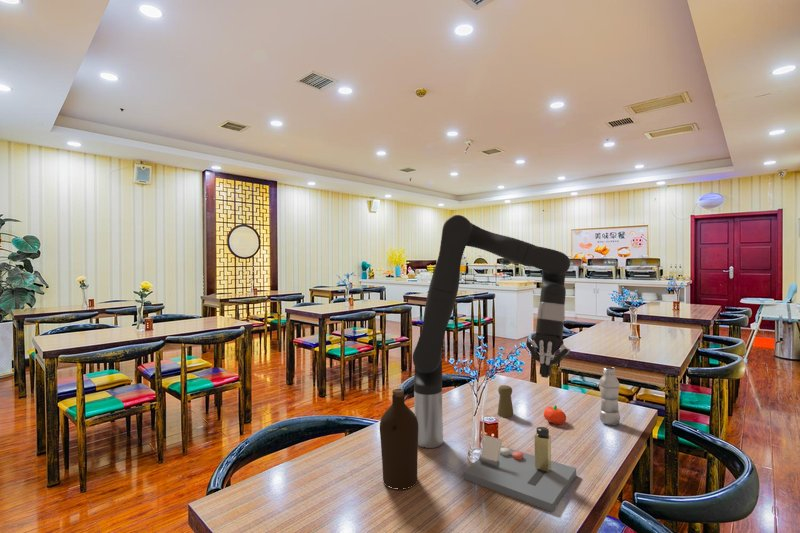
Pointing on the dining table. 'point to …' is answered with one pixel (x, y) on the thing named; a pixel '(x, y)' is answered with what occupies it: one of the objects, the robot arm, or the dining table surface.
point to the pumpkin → (554, 415)
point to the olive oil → (399, 443)
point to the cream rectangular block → (491, 451)
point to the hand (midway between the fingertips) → (544, 377)
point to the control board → (523, 478)
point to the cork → (505, 401)
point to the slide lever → (542, 449)
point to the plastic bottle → (609, 397)
